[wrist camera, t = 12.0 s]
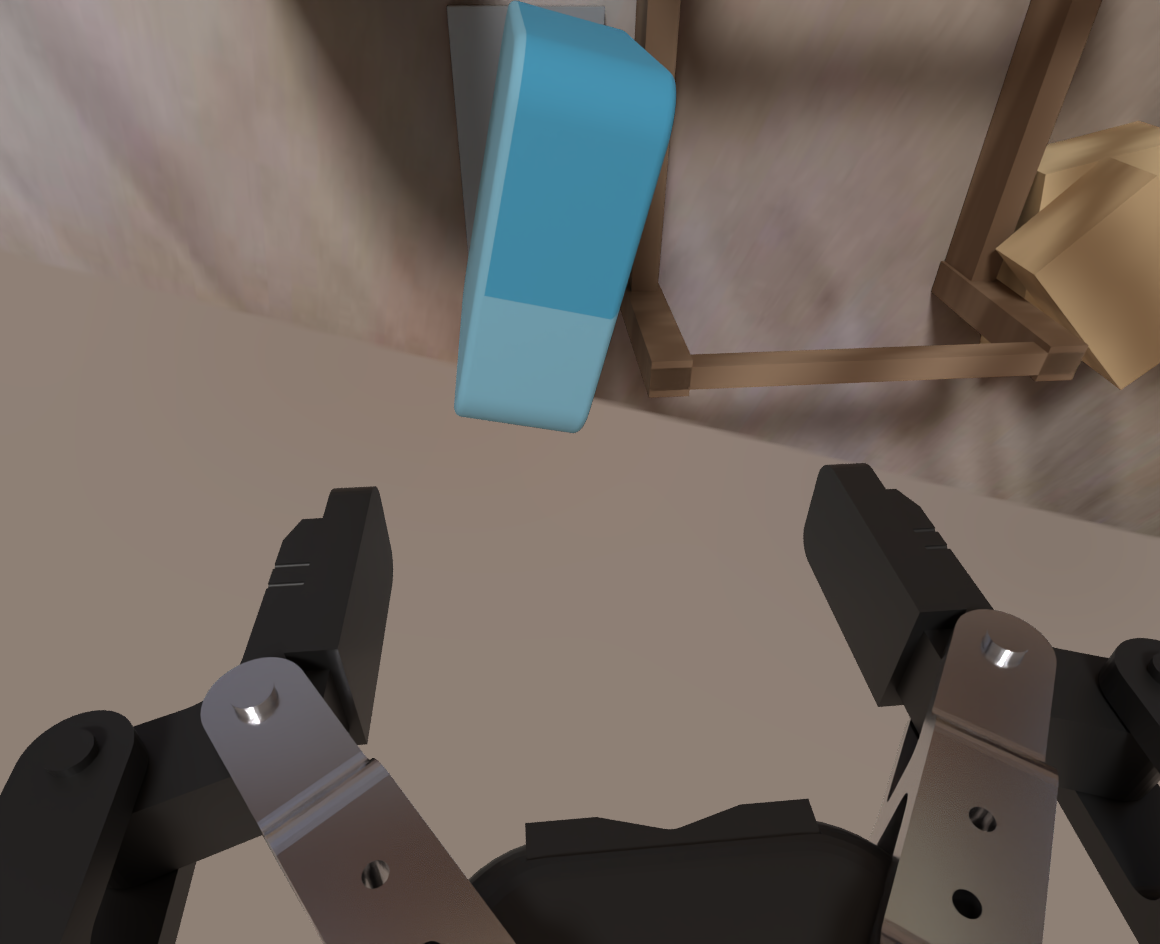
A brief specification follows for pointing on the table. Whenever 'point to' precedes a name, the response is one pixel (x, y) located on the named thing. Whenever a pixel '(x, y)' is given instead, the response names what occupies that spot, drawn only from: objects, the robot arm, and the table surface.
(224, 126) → the table surface
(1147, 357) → the offcut upper
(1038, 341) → the frame
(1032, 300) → the offcut lower
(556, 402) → the blue rounded block
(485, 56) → the mat
